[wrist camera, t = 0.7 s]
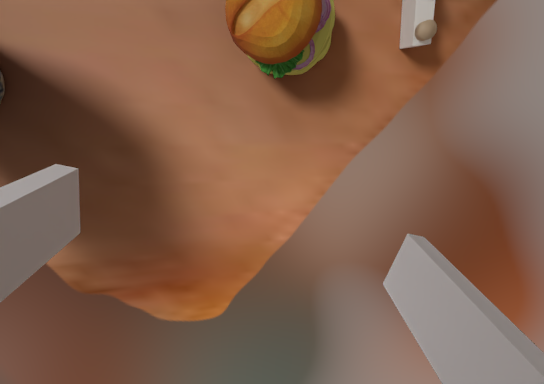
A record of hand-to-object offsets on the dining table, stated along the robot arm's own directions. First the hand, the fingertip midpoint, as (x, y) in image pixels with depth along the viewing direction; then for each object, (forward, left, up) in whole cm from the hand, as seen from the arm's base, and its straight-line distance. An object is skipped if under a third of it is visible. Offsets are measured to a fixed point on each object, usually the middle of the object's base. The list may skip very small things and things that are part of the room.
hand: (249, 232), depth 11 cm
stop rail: (-11, +19, -26) cm, 34 cm away
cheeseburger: (-11, +4, -26) cm, 29 cm away
